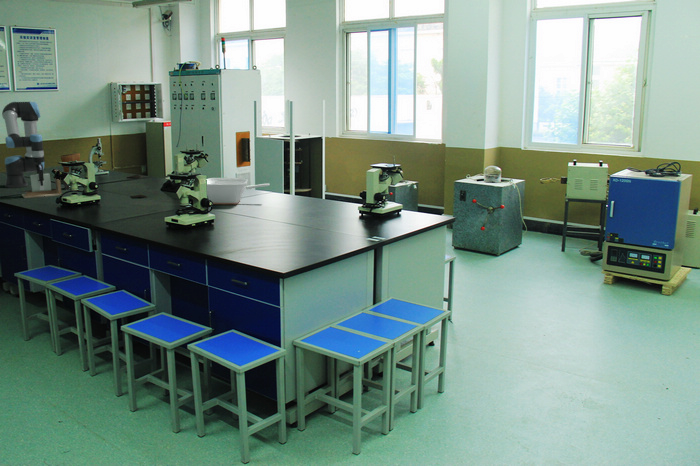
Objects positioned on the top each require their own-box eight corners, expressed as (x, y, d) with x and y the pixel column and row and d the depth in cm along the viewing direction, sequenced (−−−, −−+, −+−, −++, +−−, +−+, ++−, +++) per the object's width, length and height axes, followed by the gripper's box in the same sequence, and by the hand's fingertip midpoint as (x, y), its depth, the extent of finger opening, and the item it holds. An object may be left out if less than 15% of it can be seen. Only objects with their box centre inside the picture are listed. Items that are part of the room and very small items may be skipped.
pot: (209, 198, 426) (208, 177, 423) (271, 199, 427) (271, 178, 424) (200, 206, 398) (199, 184, 395) (267, 207, 400) (267, 184, 396)
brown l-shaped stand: (22, 195, 426) (19, 171, 422) (58, 192, 439) (56, 169, 435) (24, 198, 416) (21, 173, 412) (62, 195, 430) (59, 171, 426)
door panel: (32, 191, 424) (30, 174, 421) (50, 190, 431) (48, 173, 428) (32, 192, 422) (30, 175, 419) (51, 190, 428) (49, 174, 426)
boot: (94, 185, 473) (91, 151, 467) (99, 186, 467) (96, 152, 460) (61, 188, 456) (57, 153, 450) (65, 190, 450) (61, 154, 443)
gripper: (30, 155, 425) (34, 188, 430) (34, 158, 412) (37, 191, 418) (42, 155, 429) (45, 187, 435) (46, 157, 416) (49, 190, 422)
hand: (41, 189), depth 426 cm, fingers closed on door panel, 3 cm apart
